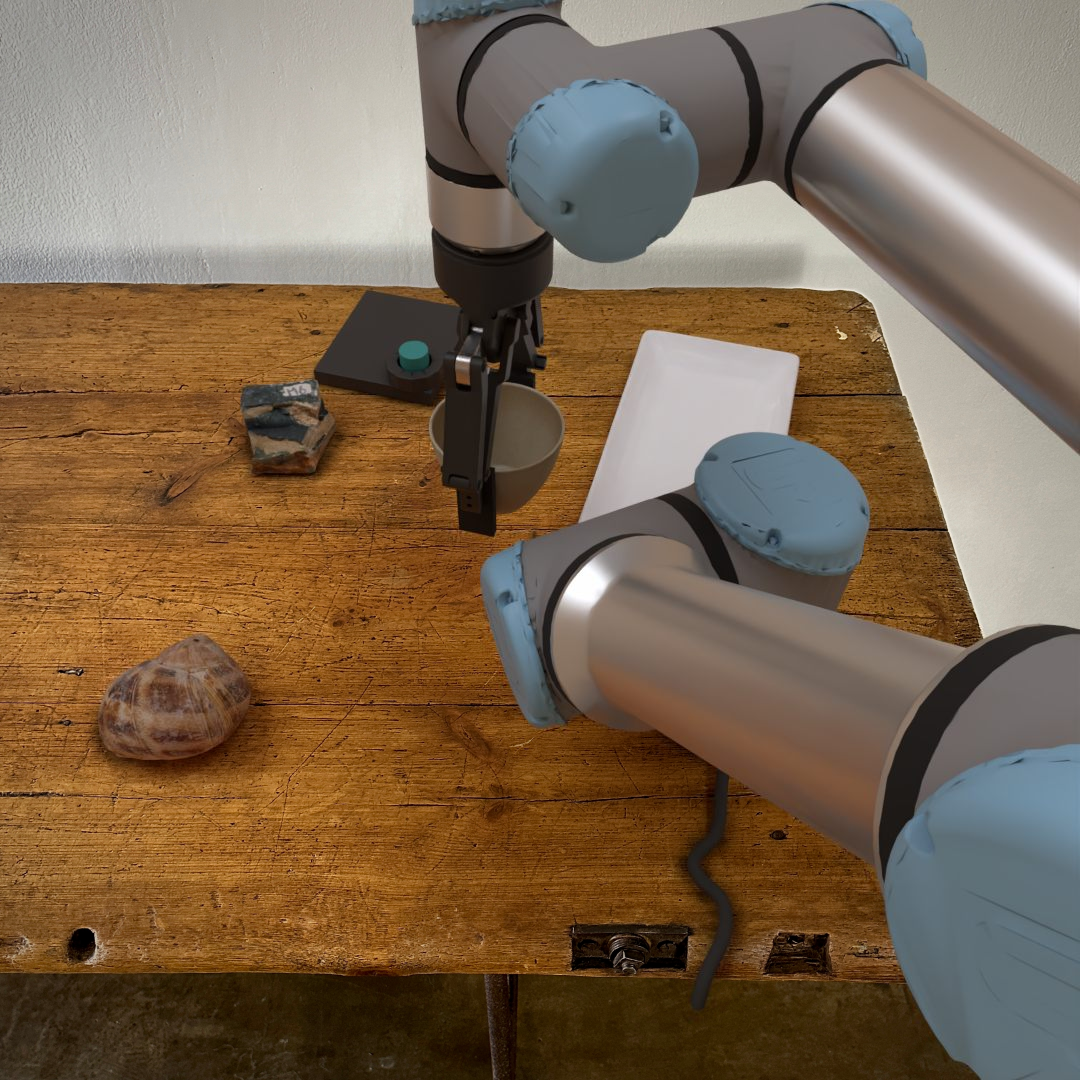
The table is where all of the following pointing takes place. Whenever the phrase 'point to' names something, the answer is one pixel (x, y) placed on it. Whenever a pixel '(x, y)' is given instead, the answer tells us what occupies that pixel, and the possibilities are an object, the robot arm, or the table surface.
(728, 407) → the tray
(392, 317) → the black button board
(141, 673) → the seashell
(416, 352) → the button
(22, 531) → the table surface
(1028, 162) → the robot arm
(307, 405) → the rock
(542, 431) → the beige bowl
